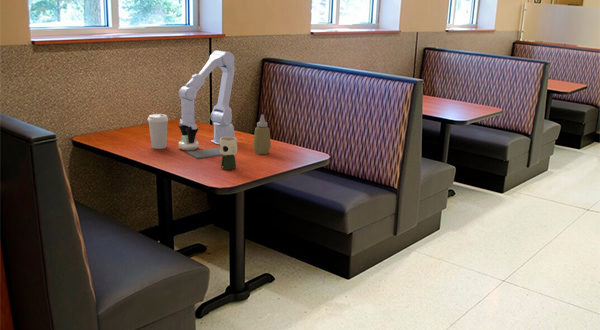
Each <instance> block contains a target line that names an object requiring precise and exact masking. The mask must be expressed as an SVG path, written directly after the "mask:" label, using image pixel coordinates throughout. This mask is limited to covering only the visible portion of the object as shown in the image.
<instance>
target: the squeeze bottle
mask: <svg viewBox="0 0 600 330" xmlns="http://www.w3.org/2000/svg"><path fill="white" fill-rule="evenodd" d="M252 144H253V145H252V146H253V150H254V152H255V154H256V155H268V154H269V152H270V150H271V147H272V143H271V131H270V128H269V126H268V122H267V121H266V120H265V115H264V114H260V118H259V121H258V122H256V126H255V128H254V134H253V143H252Z"/></svg>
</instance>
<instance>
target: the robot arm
mask: <svg viewBox="0 0 600 330" xmlns="http://www.w3.org/2000/svg"><path fill="white" fill-rule="evenodd" d="M235 59H236V57H235V56H234V54H233V53H232V52H230V51H223V50H218V49H216V50H214V51H213V52H212V53H211V54H210V55H209V59H208V60H207V62H206V63H205V64H204V66H203V68H202V69H201V70H200V71H199V73H195V74H192V75H191V78H190V80H189V81H188V82H187V83H185V85H184V86H181V87H180V88H179V91H178V93H177V94H178V96H179V98H180V102H181V118H180V119H179V125H178V128H179V130H180V132H181V136H183V135H188V140H189V143H194V140H195V136H196V135H197V134H198V131H199V128H198V125H197V124H196V121H195V99H196V98H197V95H198V92H199V90H200V89H201V87H202V86H203V85H205V83H206V80H205V79H206V78H207V77H208V76H209V75H210V73H212V72H213V70H215V68H218V67H219V68H220V70H221V71H222V74H221V80H220V86H219V92H218V97H217V103H216V104H215V105H214V106H213V109H212V112H211V113H210V120H211V121H212V124H213V139H211V140H210V141H211V142H212V143H214V144H216V145H219V146H220V138H221V137H235V127H234V125H233V124H232V120H233V115H232V111H233V110H232V108H231V107H230V101H231V94H232V88H233V83H234V82H233V81H234V76H235V69H236V67H235ZM196 137H197V136H196Z"/></svg>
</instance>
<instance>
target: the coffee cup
mask: <svg viewBox="0 0 600 330" xmlns="http://www.w3.org/2000/svg"><path fill="white" fill-rule="evenodd" d="M168 121H169V118H168V115H167V114H163V113H154V114H150V115H148V117H147V122H148V126H149V134H150V141H151V143H150V144H151V148H152V149H155V150H156V149H157V150H161V149H166V148H167V137H168V136H167V135H168Z"/></svg>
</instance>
